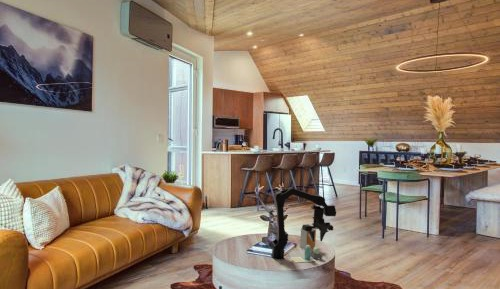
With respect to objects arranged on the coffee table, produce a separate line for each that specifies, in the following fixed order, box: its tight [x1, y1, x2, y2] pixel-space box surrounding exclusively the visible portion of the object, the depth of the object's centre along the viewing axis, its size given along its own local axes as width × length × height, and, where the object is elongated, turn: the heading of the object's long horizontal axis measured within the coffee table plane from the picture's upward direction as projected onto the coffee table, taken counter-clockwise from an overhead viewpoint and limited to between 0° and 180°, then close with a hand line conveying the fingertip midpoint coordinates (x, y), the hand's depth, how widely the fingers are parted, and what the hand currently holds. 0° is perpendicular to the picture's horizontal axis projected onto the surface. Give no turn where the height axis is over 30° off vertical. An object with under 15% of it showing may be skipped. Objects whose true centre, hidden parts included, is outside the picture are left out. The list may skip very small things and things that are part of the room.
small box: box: [299, 227, 317, 250], centre depth 239 cm, size 8×6×13 cm
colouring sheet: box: [289, 256, 316, 264], centre depth 216 cm, size 13×8×1 cm, turn 107°
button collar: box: [311, 251, 323, 260], centre depth 221 cm, size 5×5×2 cm
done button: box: [313, 246, 321, 255], centre depth 221 cm, size 4×4×4 cm
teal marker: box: [303, 245, 312, 260], centre depth 217 cm, size 4×4×8 cm
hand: (317, 241), depth 221 cm, fingers open, 5 cm apart
